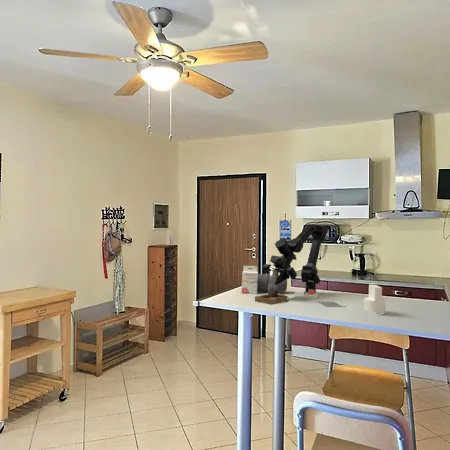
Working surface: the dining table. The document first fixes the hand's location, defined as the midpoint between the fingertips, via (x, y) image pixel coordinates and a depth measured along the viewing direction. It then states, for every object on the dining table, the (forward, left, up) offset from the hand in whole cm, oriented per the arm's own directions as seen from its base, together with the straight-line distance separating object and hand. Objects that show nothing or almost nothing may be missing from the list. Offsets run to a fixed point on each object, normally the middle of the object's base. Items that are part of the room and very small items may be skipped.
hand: (271, 283), depth 202 cm
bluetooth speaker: (-25, -10, -9) cm, 28 cm away
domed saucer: (-14, 0, -9) cm, 17 cm away
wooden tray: (0, 0, -9) cm, 9 cm away
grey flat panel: (-1, +29, -9) cm, 31 cm away
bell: (-1, +1, -7) cm, 7 cm away
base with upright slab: (+2, +48, -9) cm, 49 cm away
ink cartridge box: (-16, -17, -9) cm, 25 cm away
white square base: (-14, +17, -9) cm, 24 cm away
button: (-14, +17, -6) cm, 23 cm away
